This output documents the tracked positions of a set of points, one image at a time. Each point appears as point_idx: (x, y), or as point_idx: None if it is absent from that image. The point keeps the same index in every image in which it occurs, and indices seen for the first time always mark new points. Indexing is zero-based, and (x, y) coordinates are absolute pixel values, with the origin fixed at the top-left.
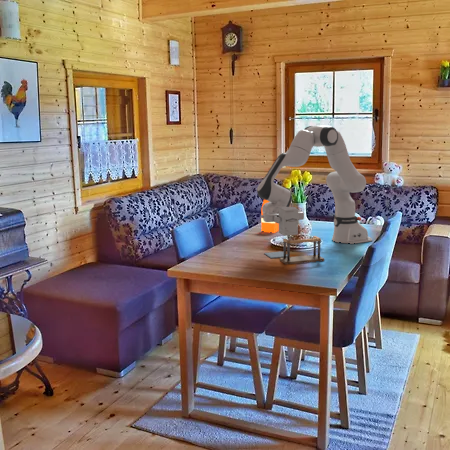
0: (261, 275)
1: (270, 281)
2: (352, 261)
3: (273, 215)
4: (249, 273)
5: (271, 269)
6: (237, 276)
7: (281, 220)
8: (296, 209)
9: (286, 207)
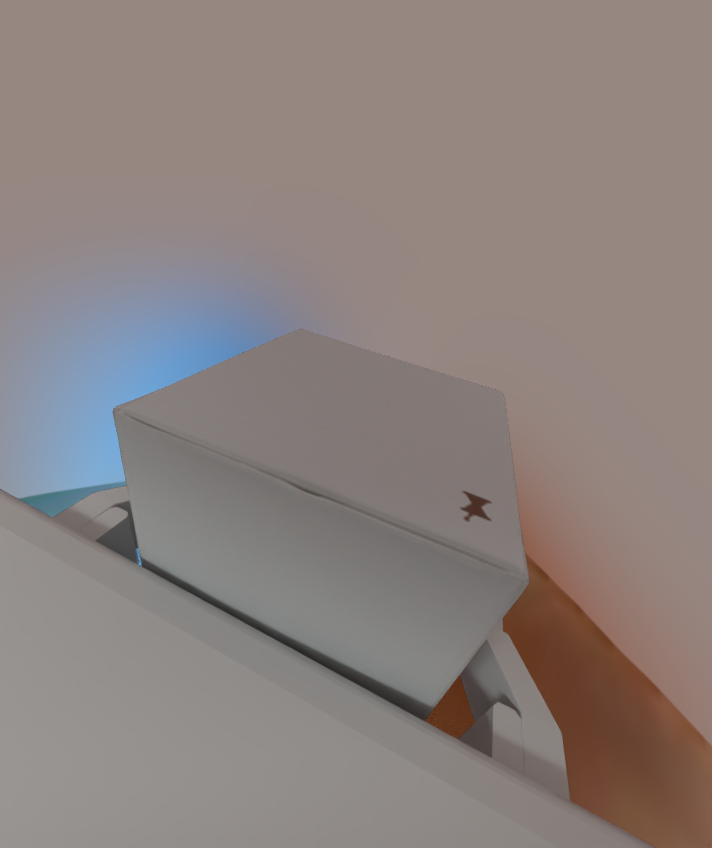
0: (552, 654)
1: (536, 566)
2: (62, 499)
3: (585, 813)
4: (614, 742)
5: (464, 707)
6: (691, 743)
7: None
8: (328, 339)
9: (360, 430)
